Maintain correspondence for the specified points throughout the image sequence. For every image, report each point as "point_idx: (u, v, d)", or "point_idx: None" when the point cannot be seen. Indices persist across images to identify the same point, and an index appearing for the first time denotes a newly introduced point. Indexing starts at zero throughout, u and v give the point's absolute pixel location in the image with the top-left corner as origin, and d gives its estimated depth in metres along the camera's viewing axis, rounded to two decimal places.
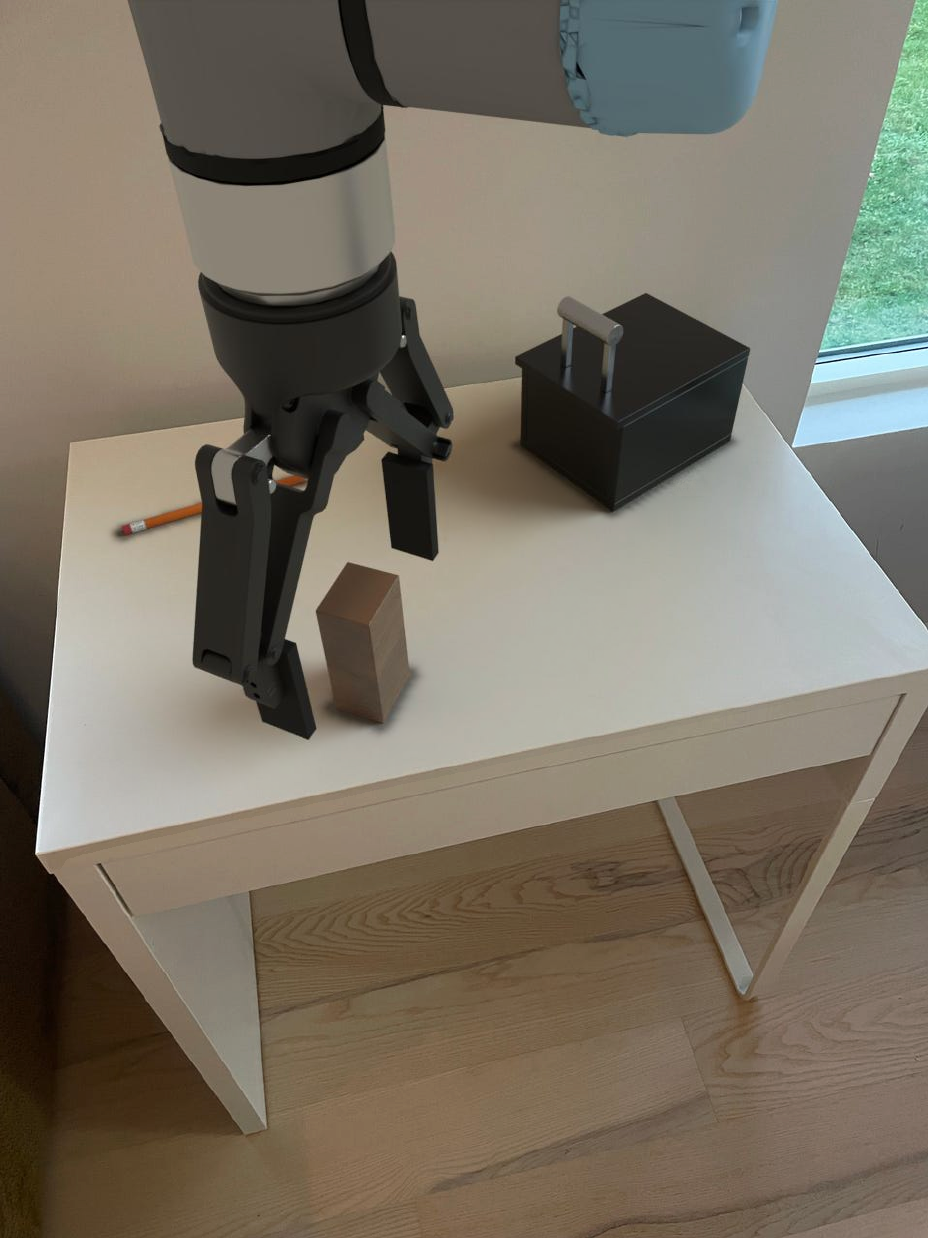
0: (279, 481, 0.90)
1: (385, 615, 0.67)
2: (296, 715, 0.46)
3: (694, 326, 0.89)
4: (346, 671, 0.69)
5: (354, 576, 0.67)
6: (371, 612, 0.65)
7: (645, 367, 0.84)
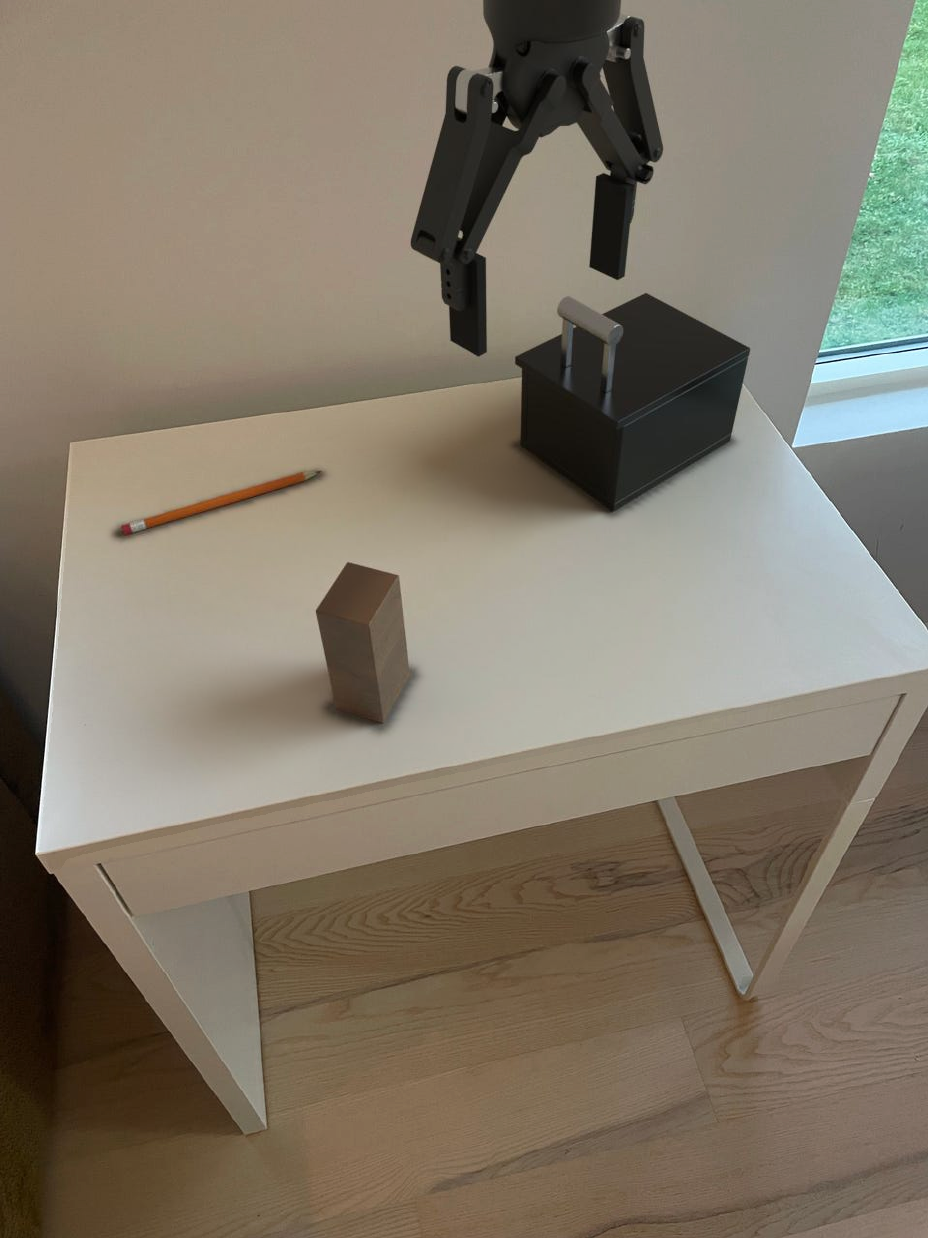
0: (279, 480, 0.90)
1: (385, 615, 0.67)
2: (474, 329, 0.61)
3: (694, 326, 0.89)
4: (346, 671, 0.69)
5: (354, 576, 0.67)
6: (371, 612, 0.65)
7: (645, 367, 0.84)
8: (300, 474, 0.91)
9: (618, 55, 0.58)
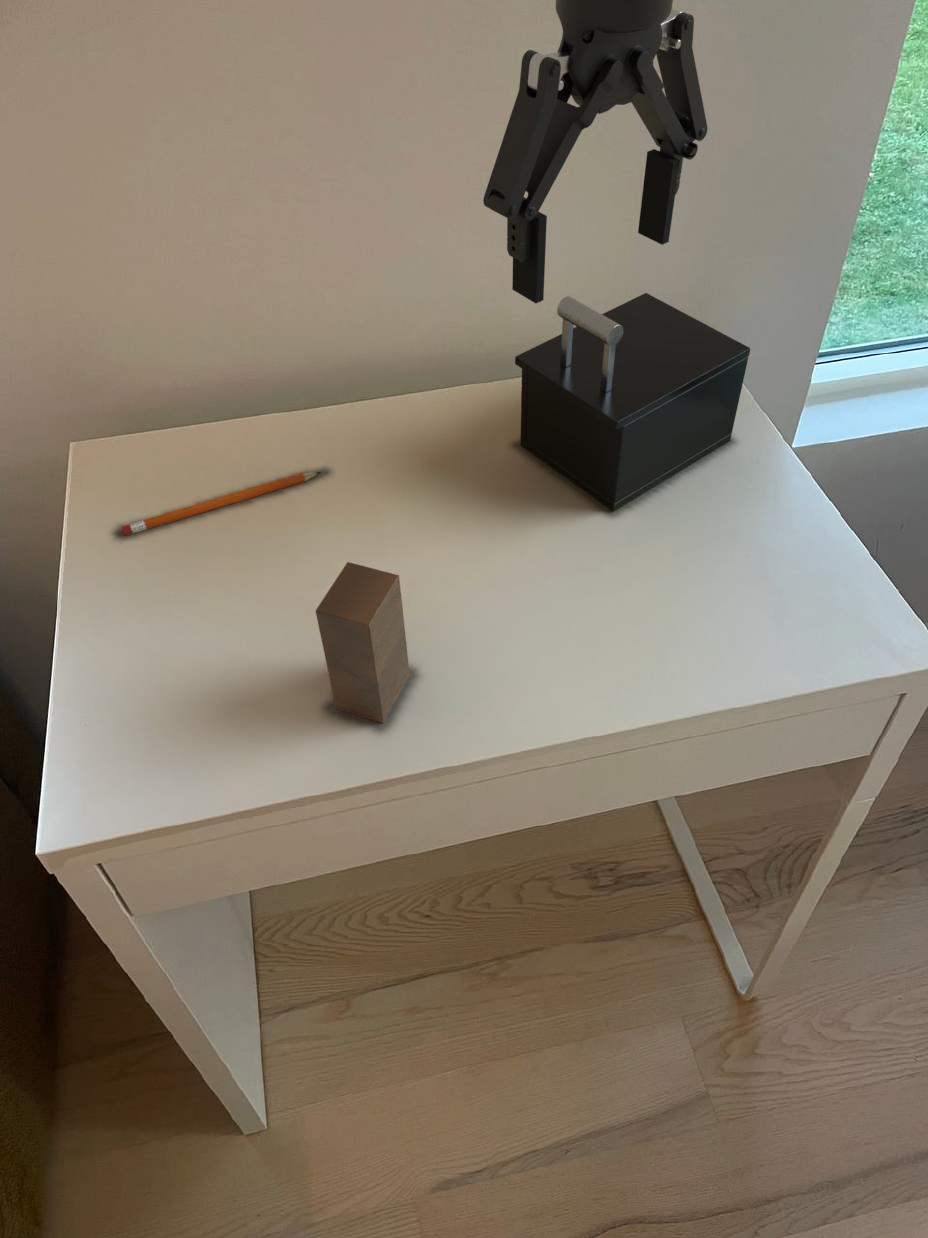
0: (279, 480, 0.90)
1: (385, 615, 0.67)
2: (533, 278, 0.71)
3: (694, 326, 0.89)
4: (346, 671, 0.69)
5: (354, 576, 0.67)
6: (371, 612, 0.65)
7: (645, 367, 0.84)
8: (300, 475, 0.91)
9: (670, 45, 0.67)
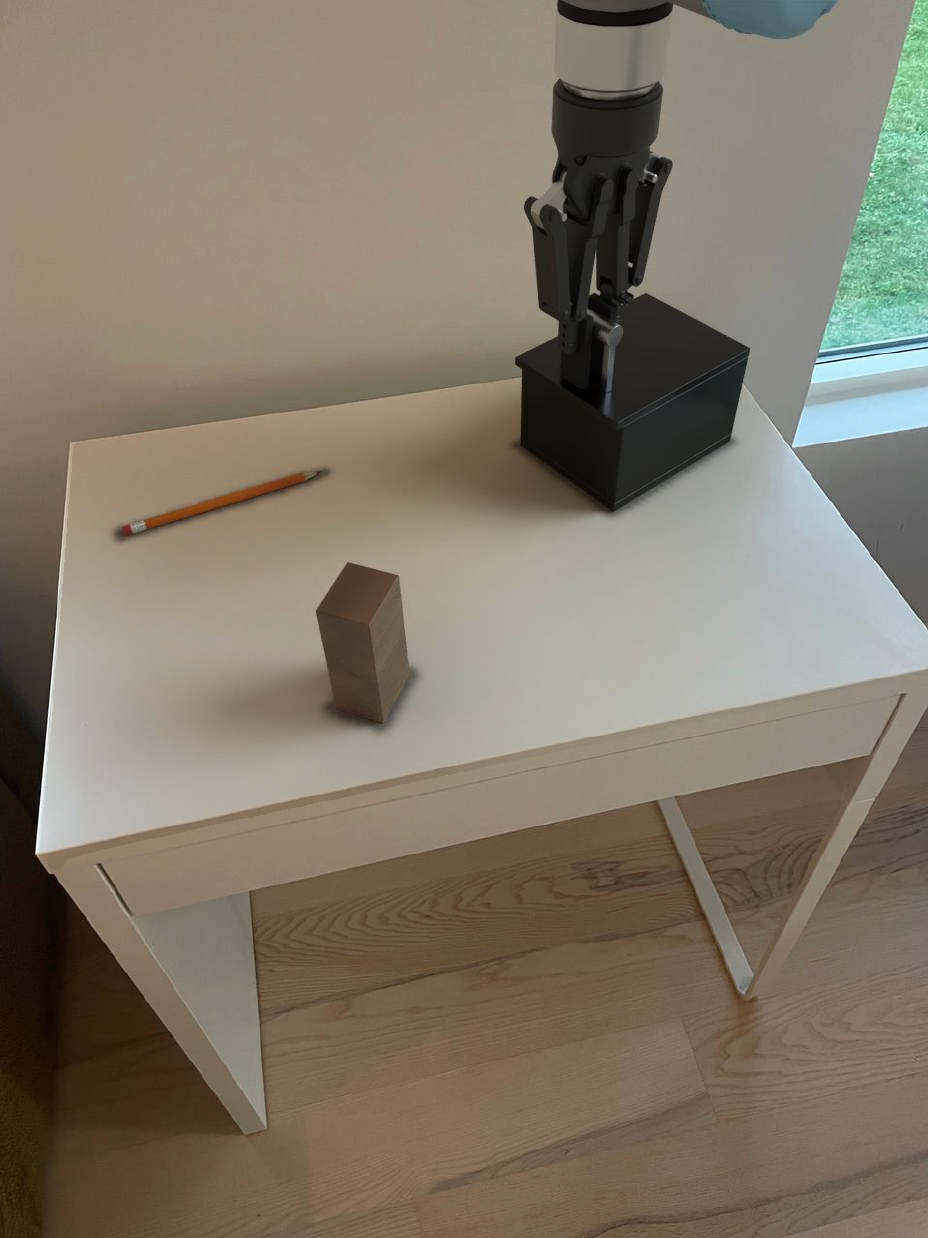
0: (279, 480, 0.90)
1: (385, 615, 0.67)
2: (580, 368, 0.81)
3: (694, 326, 0.89)
4: (346, 671, 0.69)
5: (354, 576, 0.67)
6: (371, 612, 0.65)
7: (645, 367, 0.84)
8: (300, 474, 0.91)
9: (648, 177, 0.73)
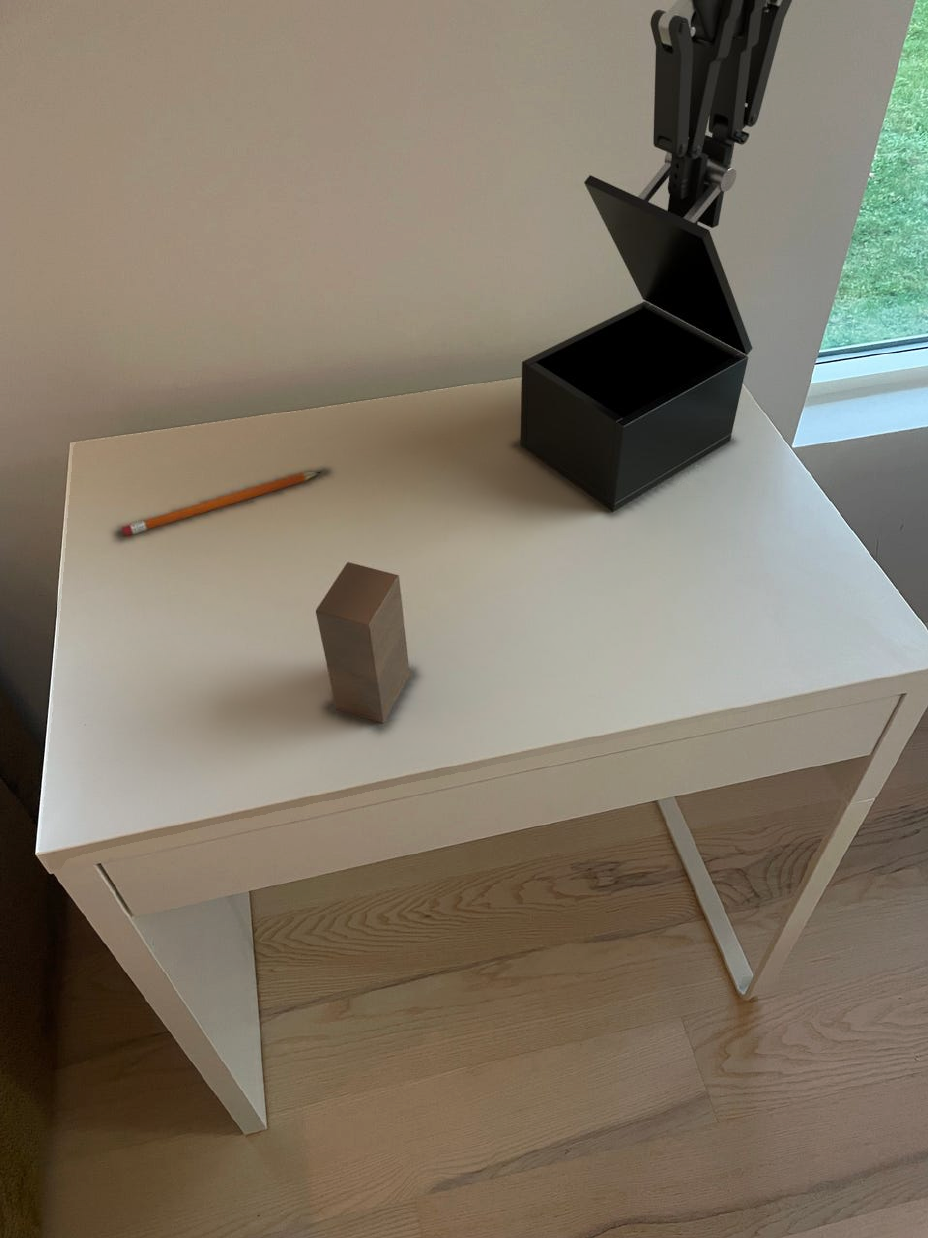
0: (279, 480, 0.90)
1: (385, 615, 0.67)
2: None
3: None
4: (346, 671, 0.69)
5: (354, 576, 0.67)
6: (371, 612, 0.65)
7: None
8: (300, 475, 0.91)
9: (771, 0, 0.71)
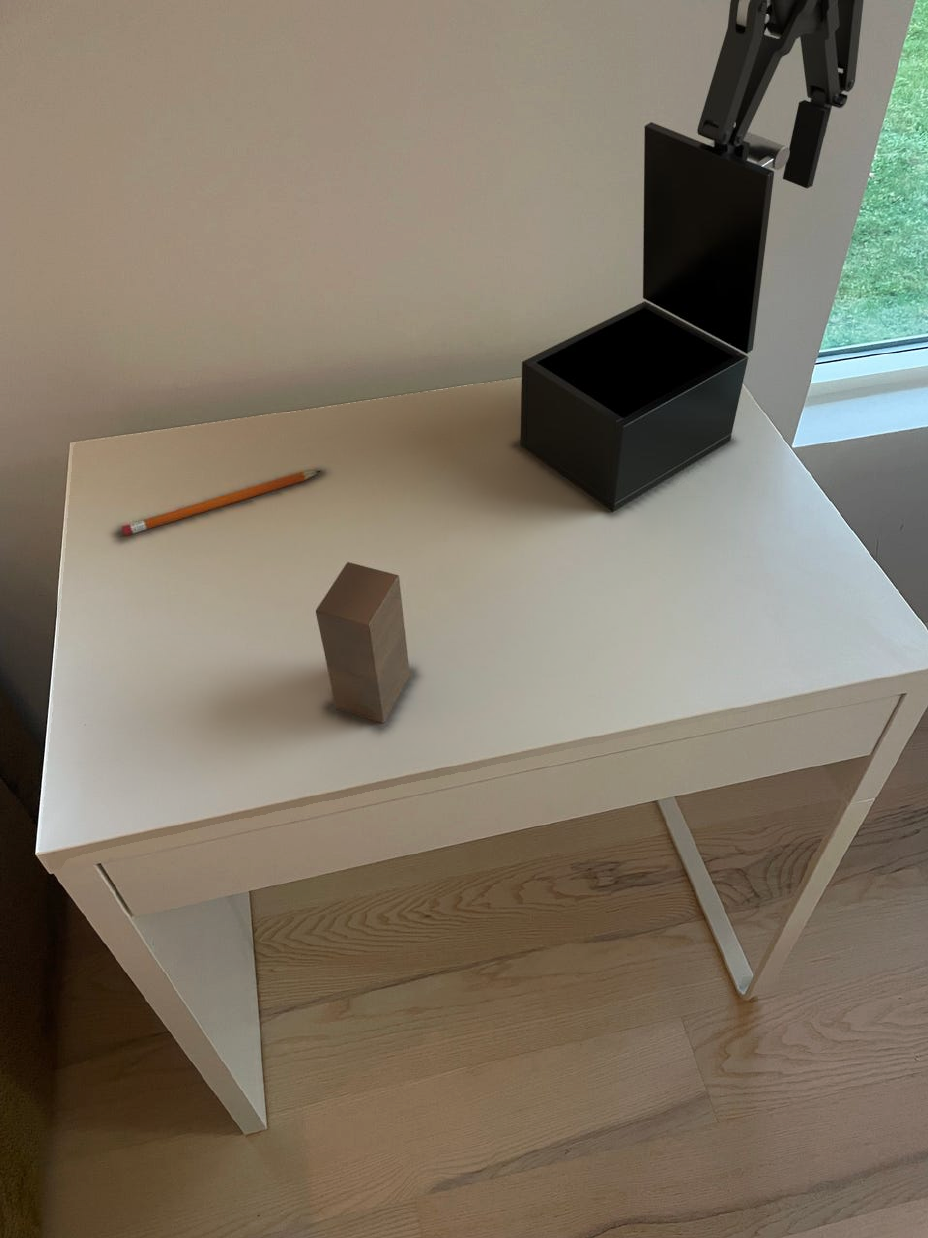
0: (279, 480, 0.90)
1: (385, 615, 0.67)
2: None
3: None
4: (346, 671, 0.69)
5: (354, 576, 0.67)
6: (371, 612, 0.65)
7: None
8: (300, 474, 0.91)
9: None
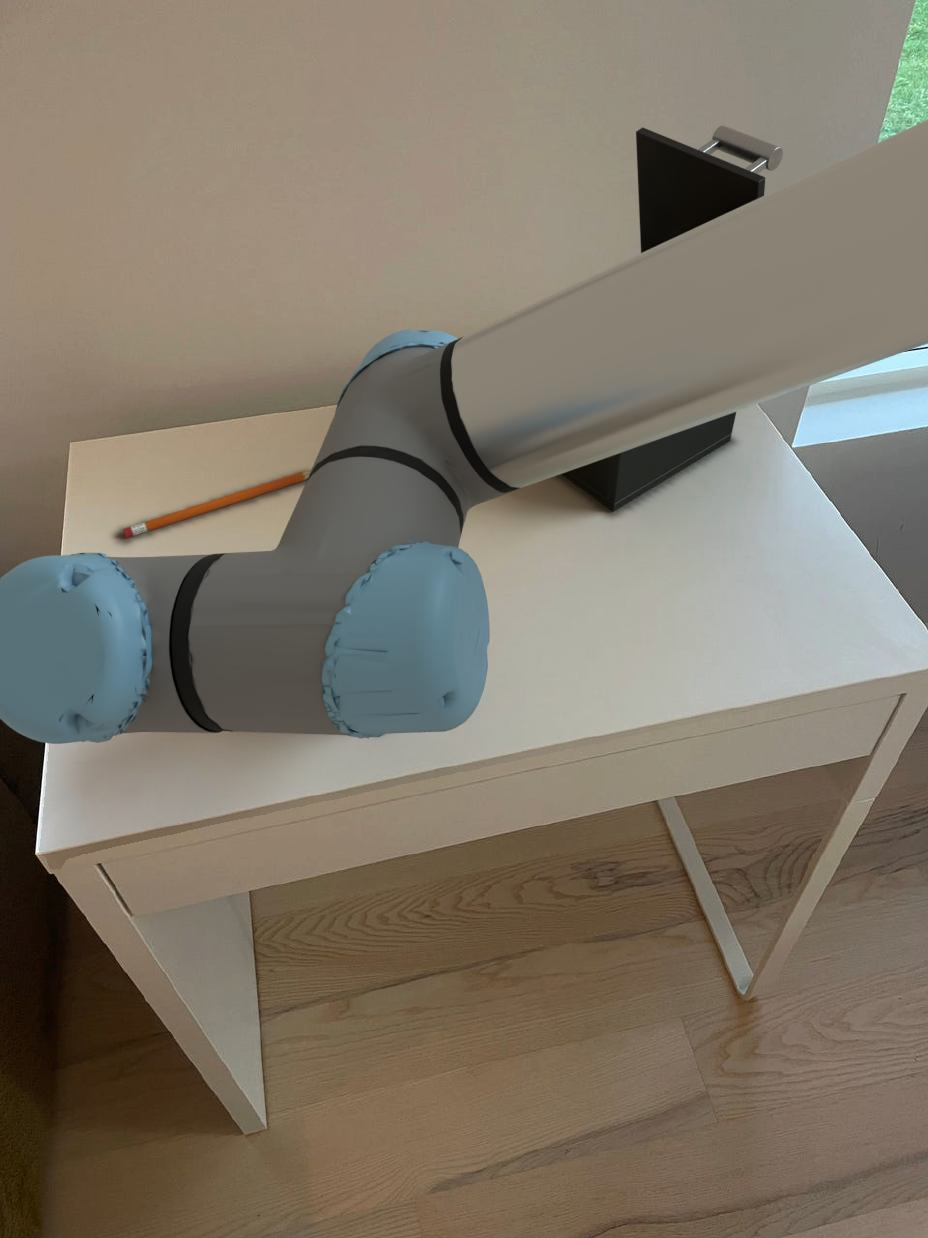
0: (279, 480, 0.90)
1: None
2: None
3: None
4: None
5: None
6: None
7: None
8: (300, 474, 0.91)
9: None
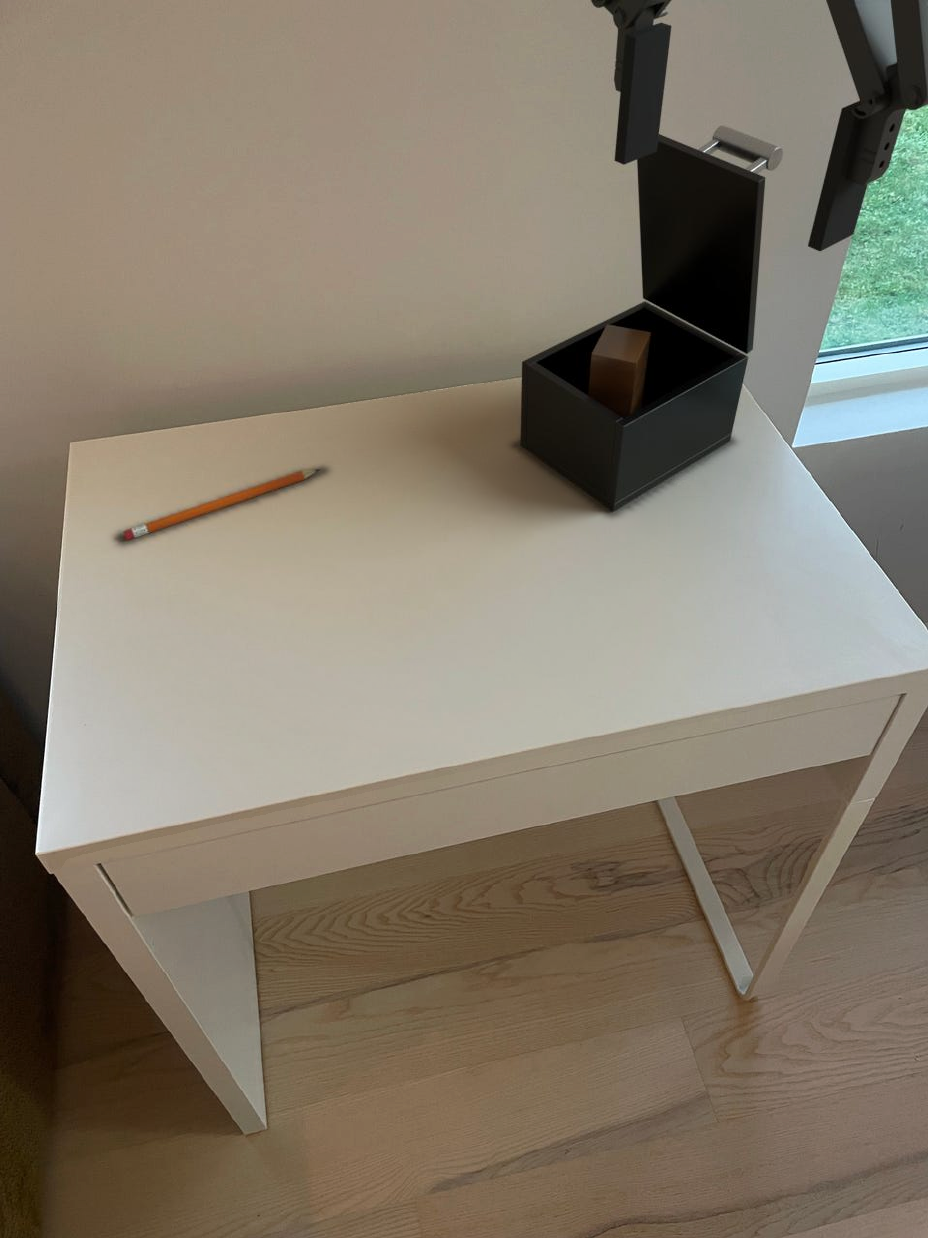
0: (279, 479, 0.90)
1: (641, 362, 0.85)
2: (859, 199, 0.48)
3: None
4: None
5: (615, 333, 0.85)
6: (635, 354, 0.83)
7: None
8: (299, 473, 0.91)
9: None
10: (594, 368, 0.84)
